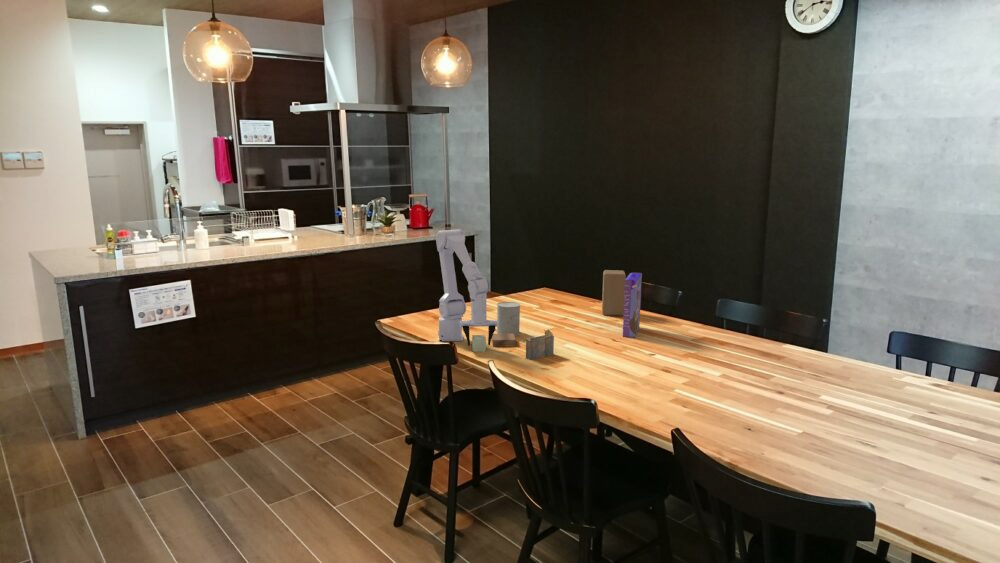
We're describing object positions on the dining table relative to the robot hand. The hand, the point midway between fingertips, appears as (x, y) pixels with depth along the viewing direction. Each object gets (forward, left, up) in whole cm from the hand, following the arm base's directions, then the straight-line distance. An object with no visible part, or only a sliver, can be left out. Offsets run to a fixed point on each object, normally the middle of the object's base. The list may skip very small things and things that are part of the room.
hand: (479, 344), depth 240 cm
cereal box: (+65, +21, -2) cm, 68 cm away
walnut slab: (+10, +8, -2) cm, 13 cm away
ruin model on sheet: (+22, -10, -2) cm, 24 cm away
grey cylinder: (+13, +22, -2) cm, 25 cm away
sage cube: (0, 0, -2) cm, 2 cm away
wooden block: (+65, +53, -2) cm, 84 cm away
